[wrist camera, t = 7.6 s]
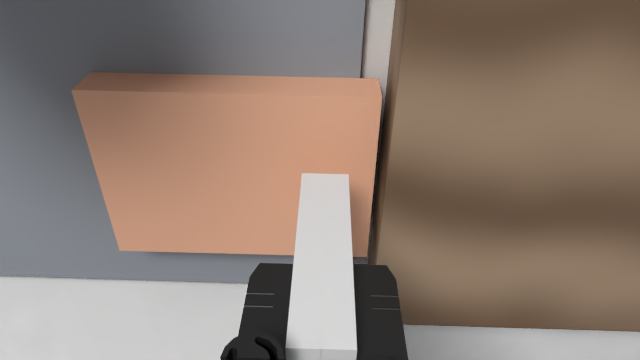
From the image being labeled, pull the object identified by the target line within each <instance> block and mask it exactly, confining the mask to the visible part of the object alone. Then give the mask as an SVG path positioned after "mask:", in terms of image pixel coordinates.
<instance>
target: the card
mask: <svg viewBox="0 0 640 360" xmlns="http://www.w3.org/2000/svg"><path fill="white" fill-rule="evenodd" d="M71 91H72V94H73V98H74V101H75V104H76V108H77V111H78V114H79V118H80V121H81V124H82V128H83V131H84V134H85V137H86V141H87V144H88V147H89V151H90V154H91V157H92V161H93V164H94V167H95V171H96V174H97V177H98V181H99V184H100V187H101V191H102V194H103V197H104V201H105V204H106V207H107V210H108V214H109V217H110V220H111V224H112V227H113V230H114V234H115V237H116V240H117V244H118V247H119V250H120V251H148V252H187V253H226V254H264V255H294V252H295V241H296V231H297V220H298V210H299V199H300V189H301V178H302V173H317V174H349V193H350V214H351V234H352V255H353V257H367V251H368V241H369V230H370V220H371V209H372V199H373V188H374V178H375V168H376V157H377V147H378V136H379V126H380V115H381V105H382V93H381V88H380V83H379V79H374V78H329V77H284V76H239V75H194V74H149V73H104V72H90V73H89V74H88V75H87V76H86V77H85V78H84V79H83V80H82V81H81V82H79V83H78V84H77V85H76V86H75V87H74V88H73V89H72V90H71Z"/></svg>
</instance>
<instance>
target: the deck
mask: <svg viewBox="0 0 640 360" xmlns="http://www.w3.org/2000/svg"><path fill="white" fill-rule="evenodd" d="M368 265H387V267H388V268H389V269H390V271H391V272H392V274H393V275H394V277H395V278H396V282H397V288H398V298H399V302H400V311H401V316H402V322H403V324H406V325H439V326H471V327H504V328H537V329H570V330H603V331H636V332H640V0H396V2H395V11H394V21H393V30H392V40H391V49H390V59H389V68H388V78H387V87H386V97H385V106H384V116H383V125H382V135H381V144H380V154H379V164H378V173H377V183H376V192H375V202H374V211H373V221H372V230H371V240H370V249H369V259H368Z"/></svg>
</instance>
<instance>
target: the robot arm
mask: <svg viewBox="0 0 640 360" xmlns="http://www.w3.org/2000/svg"><path fill="white" fill-rule="evenodd" d="M220 358H221V360H408V356H407V350H406V343H405V336H404V329H403V322H402V316H401V311H400V302H399V298H398V288H397V282H396V278H395V277H394V275H393V274H392V272H391V271H390V269H389V268H388V267H387V265H359V264H353V255H352V234H351V214H350V193H349V174H317V173H302V178H301V189H300V199H299V210H298V220H297V231H296V241H295V252H294V263H293V264H282V263H259V265H258V266H257V267H256V269H255V270H254V271H253V273H252V274H251V275H250V278H249V283H248V288H247V295H246V298H245V304H244V309H243V314H242V319H241V324H240V329H239V335H238V337H236V338H234V339H233V340H232V341H231V342H230V343H228V344H227V345H226V346H225V348H224V350H223V353H222V355H221V357H220Z"/></svg>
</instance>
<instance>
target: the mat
mask: <svg viewBox="0 0 640 360" xmlns="http://www.w3.org/2000/svg"><path fill="white" fill-rule="evenodd" d="M364 15H365V0H0V276H20V277H54V278H87V279H121V280H154V281H188V282H221V283H249V278H250V275H251V274H252V273H253V271H254V270H255V269H256V267H257V266H258V265H259V263H282V264H293V263H294V255H264V254H226V253H187V252H148V251H120V250H119V247H118V244H117V240H116V237H115V234H114V230H113V227H112V224H111V220H110V217H109V214H108V210H107V207H106V204H105V201H104V197H103V194H102V191H101V187H100V184H99V181H98V177H97V174H96V171H95V167H94V164H93V161H92V157H91V154H90V151H89V147H88V144H87V141H86V137H85V134H84V131H83V128H82V124H81V121H80V118H79V114H78V111H77V108H76V104H75V101H74V98H73V94H72V91H71V90H72V89H73V88H74V87H75V86H76V85H77V84H78V83H79V82H81V81H82V80H83V79H84V78H85V77H86V76H87V75H88V74H89V73H90V72H104V73H149V74H194V75H239V76H284V77H329V78H360V71H361V57H362V43H363V29H364Z"/></svg>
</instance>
